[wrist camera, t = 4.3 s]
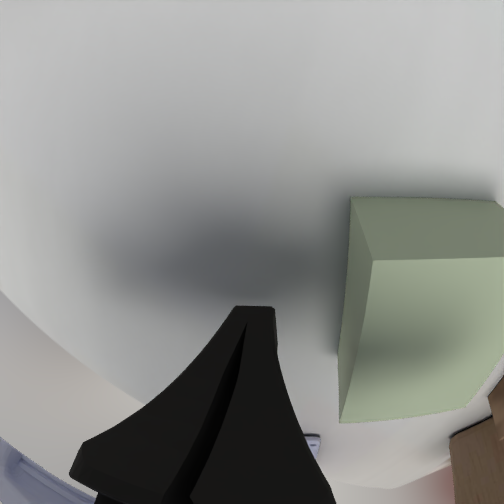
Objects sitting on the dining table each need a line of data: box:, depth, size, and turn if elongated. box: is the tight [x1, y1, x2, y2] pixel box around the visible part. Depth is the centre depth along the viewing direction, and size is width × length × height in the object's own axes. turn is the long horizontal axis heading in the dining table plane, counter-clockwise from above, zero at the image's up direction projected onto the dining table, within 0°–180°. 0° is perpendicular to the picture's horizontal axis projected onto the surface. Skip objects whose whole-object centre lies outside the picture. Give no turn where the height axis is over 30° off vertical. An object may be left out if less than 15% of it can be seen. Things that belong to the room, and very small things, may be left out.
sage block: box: [338, 197, 504, 423], centre depth 9 cm, size 8×6×4 cm
